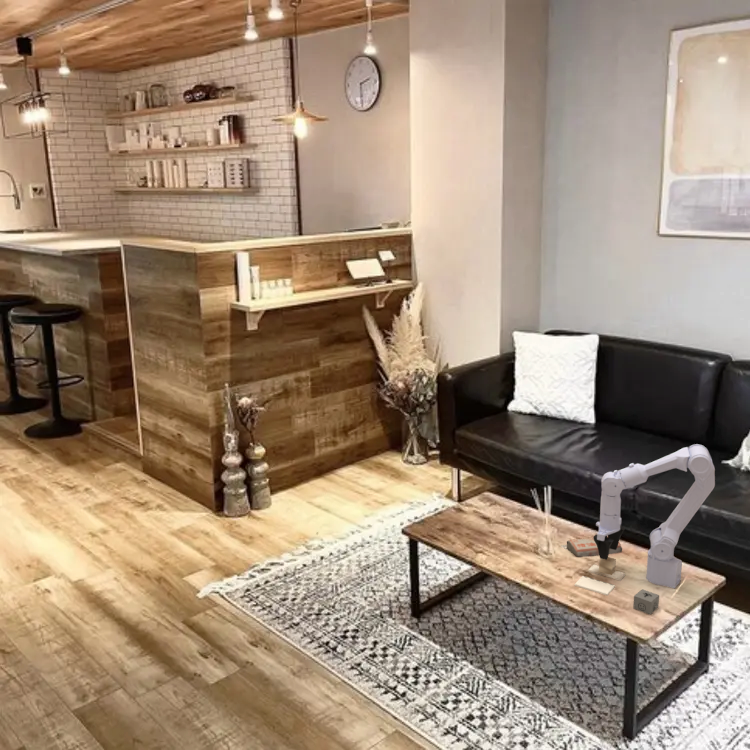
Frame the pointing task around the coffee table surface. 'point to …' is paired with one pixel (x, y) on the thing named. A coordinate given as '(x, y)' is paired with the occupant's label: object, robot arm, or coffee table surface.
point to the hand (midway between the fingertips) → (608, 553)
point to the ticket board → (594, 585)
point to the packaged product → (586, 547)
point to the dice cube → (646, 601)
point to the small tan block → (607, 569)
